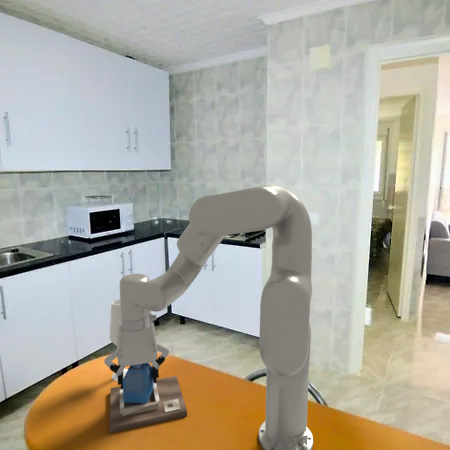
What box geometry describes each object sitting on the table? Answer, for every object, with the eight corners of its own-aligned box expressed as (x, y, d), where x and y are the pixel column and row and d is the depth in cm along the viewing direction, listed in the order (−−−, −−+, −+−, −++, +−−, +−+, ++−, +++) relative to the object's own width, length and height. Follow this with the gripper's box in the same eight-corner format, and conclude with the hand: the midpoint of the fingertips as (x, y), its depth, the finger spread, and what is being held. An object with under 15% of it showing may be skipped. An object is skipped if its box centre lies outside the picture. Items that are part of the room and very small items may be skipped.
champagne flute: (137, 369, 107) (134, 298, 103) (128, 382, 100) (125, 306, 97) (117, 368, 108) (114, 297, 104) (107, 380, 101) (103, 305, 98)
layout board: (187, 415, 86) (187, 405, 86) (110, 433, 80) (109, 421, 80) (176, 380, 101) (176, 371, 101) (110, 392, 95) (110, 383, 95)
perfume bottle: (153, 388, 92) (152, 348, 91) (146, 403, 86) (145, 360, 85) (131, 387, 93) (130, 347, 91) (123, 402, 87) (121, 359, 85)
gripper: (167, 312, 93) (168, 370, 95) (101, 320, 88) (104, 381, 90) (171, 323, 86) (173, 385, 88) (100, 332, 81) (103, 398, 83)
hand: (138, 383), depth 89 cm, fingers closed on perfume bottle, 8 cm apart
